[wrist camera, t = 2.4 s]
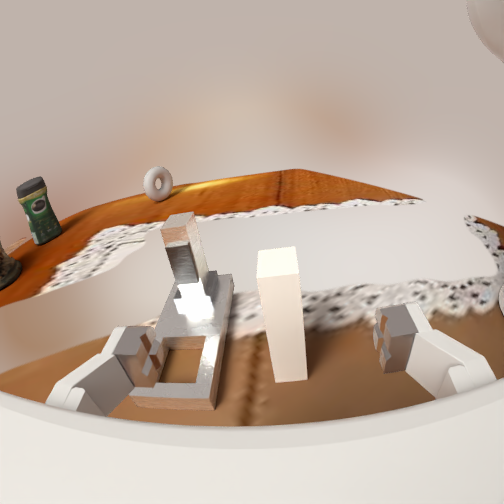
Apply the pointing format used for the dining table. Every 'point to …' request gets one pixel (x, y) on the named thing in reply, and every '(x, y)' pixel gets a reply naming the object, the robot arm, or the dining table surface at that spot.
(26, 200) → the coffee jar
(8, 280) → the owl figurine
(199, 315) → the steel rail
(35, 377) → the dining table surface
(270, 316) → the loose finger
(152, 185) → the donut
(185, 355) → the dining table surface
